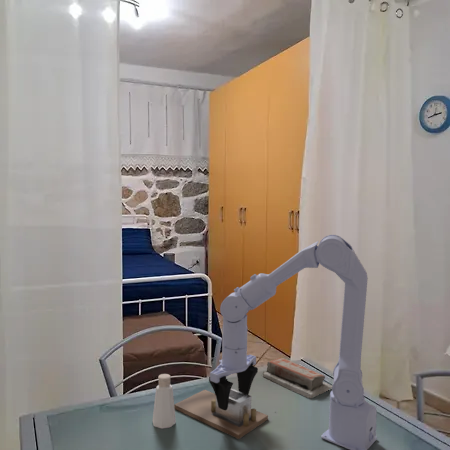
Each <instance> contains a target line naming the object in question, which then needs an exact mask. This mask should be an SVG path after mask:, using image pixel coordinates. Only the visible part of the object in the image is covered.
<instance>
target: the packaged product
mask: <svg viewBox="0 0 450 450" xmlns="http://www.w3.org/2000/svg"><path fill="white" fill-rule="evenodd" d="M266 365H267V366H266V370H265V371H263V372H262V377H264V378H265V379H267V380H270V381H271V382H273V383H275V384H277V385H279V386H282V387H284V388H286V389H288V390H290V391H292V392H295V393H297V394H298V395H301V396H303V397H304V398H308V399H313V398H315V397H317V396H319V394H320V395H322V394H324V392H325V393H326V391H327V392H328V390H329V389H331V388H332V386H333V384H329V383H328V382H325V381H324V380H325V379H326V376H325V375H324V374H321V373H319V372H317V371H315V370H312V369H310V368H307V367H305V366H303V365H300V364H298V363H296V362H294V361H292V360H289V359H286V358H284V357H278V358H275V359H271V360H269V361H268V362H267V364H266ZM331 390H332V389H331ZM329 391H330V390H329Z"/></svg>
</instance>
